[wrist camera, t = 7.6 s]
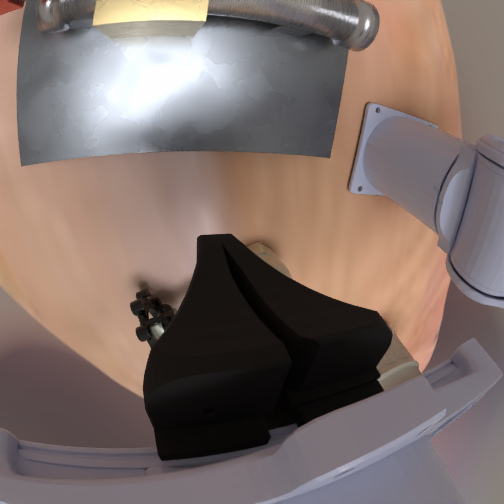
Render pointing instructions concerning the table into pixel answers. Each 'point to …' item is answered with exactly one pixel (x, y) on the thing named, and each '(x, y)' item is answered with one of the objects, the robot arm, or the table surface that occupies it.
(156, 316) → the valve
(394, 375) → the jar
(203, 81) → the pipe stand
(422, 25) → the table surface
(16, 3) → the valve lever
